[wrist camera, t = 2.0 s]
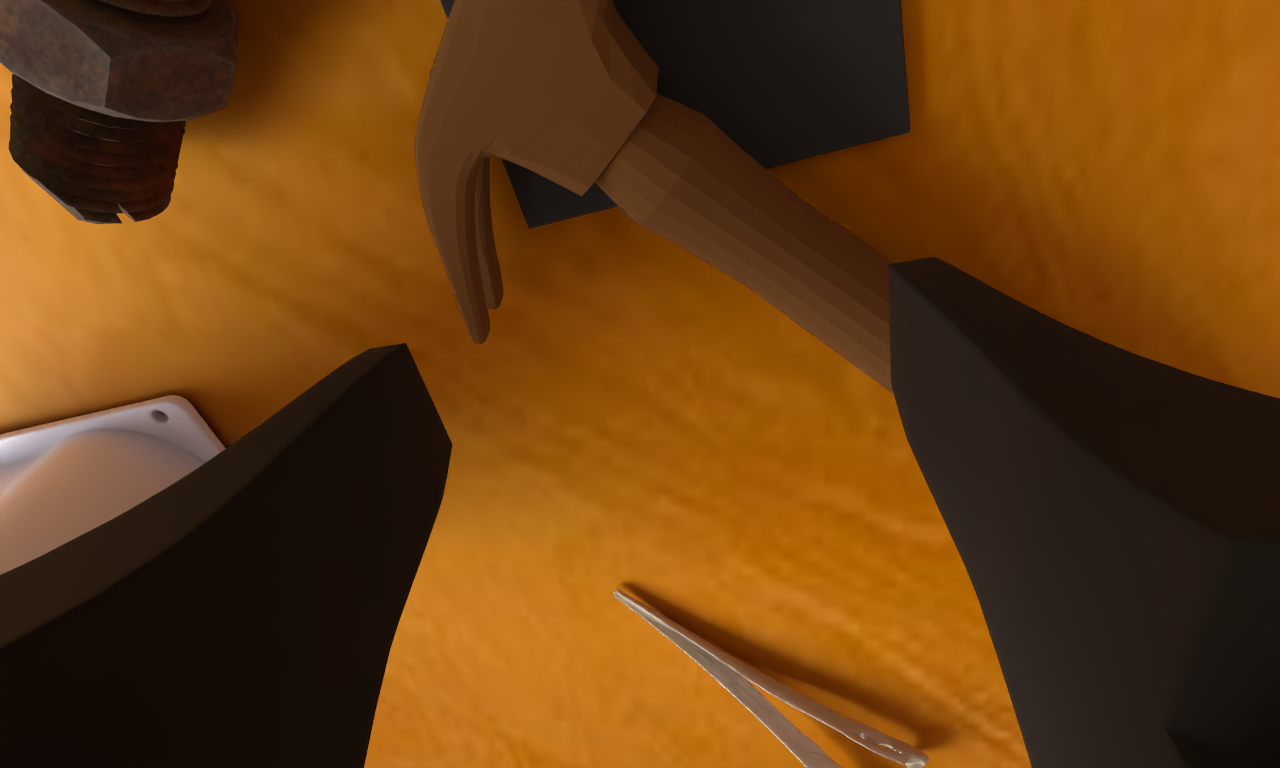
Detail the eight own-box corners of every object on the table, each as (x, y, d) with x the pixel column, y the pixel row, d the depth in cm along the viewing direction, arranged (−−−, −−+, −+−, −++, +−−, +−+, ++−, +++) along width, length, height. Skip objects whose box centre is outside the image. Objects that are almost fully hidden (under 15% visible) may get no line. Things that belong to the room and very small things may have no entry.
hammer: (1365, 474, 24) (604, -261, 14) (1446, 551, 21) (586, -279, 12) (1047, 639, 30) (353, 202, 20) (1080, 714, 27) (306, 256, 17)
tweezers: (933, 743, 34) (943, 786, 33) (850, 777, 36) (855, 819, 35) (659, 535, 29) (655, 574, 27) (582, 589, 31) (573, 628, 29)
